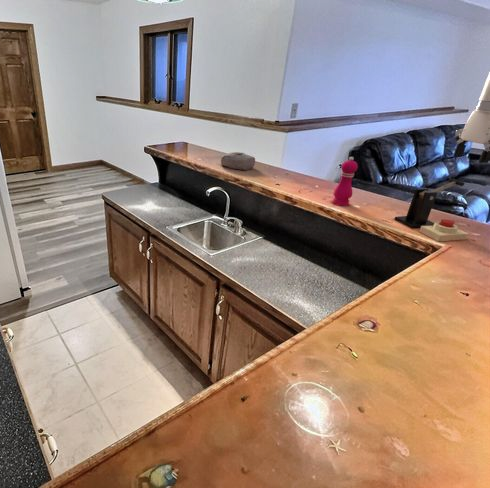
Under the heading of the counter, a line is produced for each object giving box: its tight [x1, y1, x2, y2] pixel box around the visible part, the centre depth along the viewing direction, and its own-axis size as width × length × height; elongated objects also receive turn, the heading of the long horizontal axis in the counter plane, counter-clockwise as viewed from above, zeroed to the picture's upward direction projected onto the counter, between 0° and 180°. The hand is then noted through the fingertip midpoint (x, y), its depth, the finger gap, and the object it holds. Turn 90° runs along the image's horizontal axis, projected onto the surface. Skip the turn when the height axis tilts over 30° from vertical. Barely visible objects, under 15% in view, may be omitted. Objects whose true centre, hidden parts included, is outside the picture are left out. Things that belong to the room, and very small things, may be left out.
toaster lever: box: [419, 178, 465, 200], centre depth 126 cm, size 14×5×2 cm, turn 99°
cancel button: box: [440, 218, 455, 228], centre depth 120 cm, size 4×4×2 cm
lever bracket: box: [393, 188, 438, 230], centre depth 128 cm, size 10×9×13 cm
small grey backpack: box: [219, 151, 256, 171], centre depth 204 cm, size 15×8×20 cm
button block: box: [418, 220, 469, 242], centre depth 121 cm, size 11×8×4 cm
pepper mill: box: [332, 156, 359, 207], centre depth 146 cm, size 7×7×20 cm
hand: (469, 159), depth 122 cm, fingers open, 9 cm apart
